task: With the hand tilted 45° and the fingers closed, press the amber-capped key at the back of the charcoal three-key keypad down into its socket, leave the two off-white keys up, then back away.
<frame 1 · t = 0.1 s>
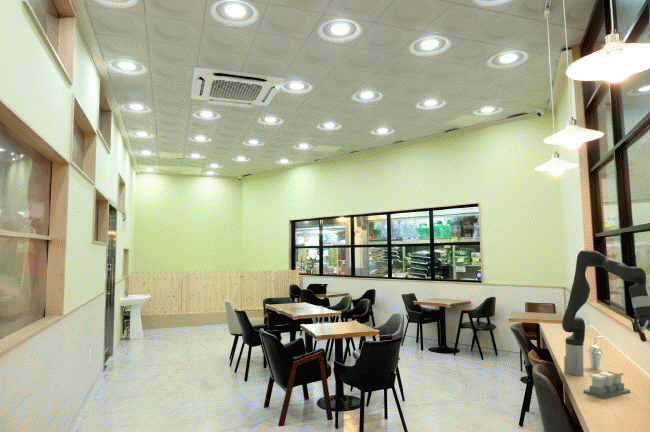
front key: (597, 381, 222), point 7 cm above the counter, slide at 0.0 cm
middle key: (606, 379, 225), point 7 cm above the counter, slide at 0.0 cm
amber key: (615, 377, 229), point 6 cm above the counter, slide at 0.0 cm
cup with straw: (595, 368, 271), on the counter
keypad: (607, 392, 225), on the counter
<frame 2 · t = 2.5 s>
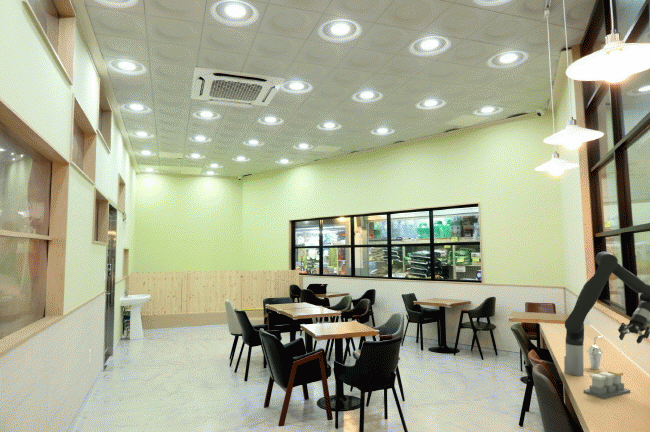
hand: (629, 340, 236), 25 cm above the counter, tool tilted 45°, fingers open, 8 cm apart
nothing on the counter moved.
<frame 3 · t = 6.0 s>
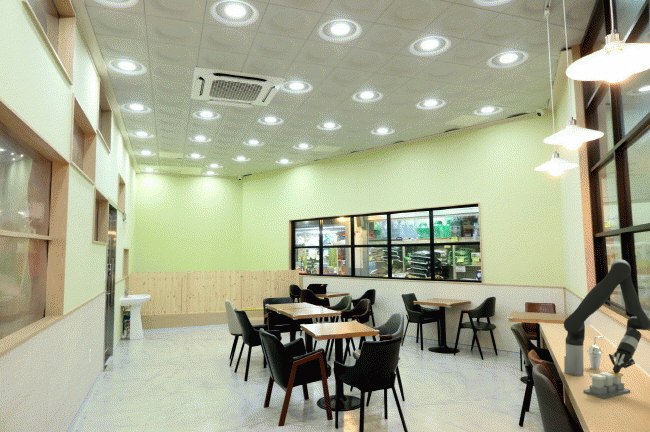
hand: (615, 372, 229), 10 cm above the counter, tool tilted 45°, fingers closed
amber key: (615, 378, 229), point 6 cm above the counter, slide at 0.5 cm, touching gripper
everything else where it was.
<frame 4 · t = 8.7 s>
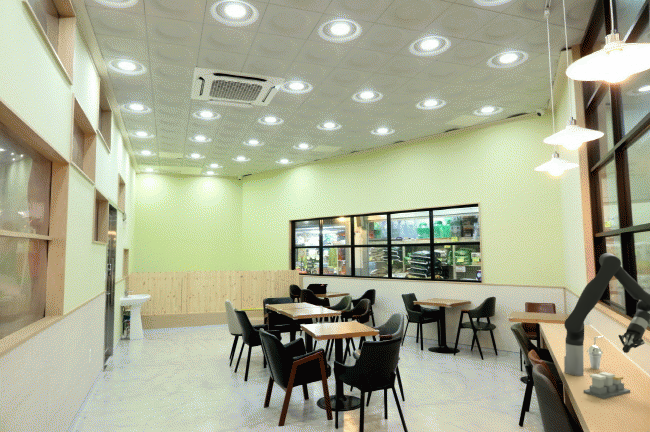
hand: (625, 351, 234), 19 cm above the counter, tool tilted 45°, fingers closed
amber key: (615, 381, 229), point 4 cm above the counter, slide at 2.1 cm
everything else where it was.
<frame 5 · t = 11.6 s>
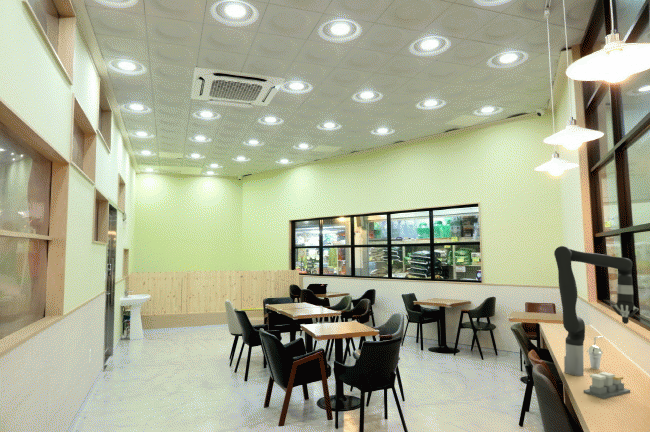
hand: (625, 323, 248), 32 cm above the counter, tool pointing down, fingers closed
nothing on the counter moved.
at the end: amber key slide at 2.1 cm; middle key slide at 0.0 cm; front key slide at 0.0 cm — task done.
